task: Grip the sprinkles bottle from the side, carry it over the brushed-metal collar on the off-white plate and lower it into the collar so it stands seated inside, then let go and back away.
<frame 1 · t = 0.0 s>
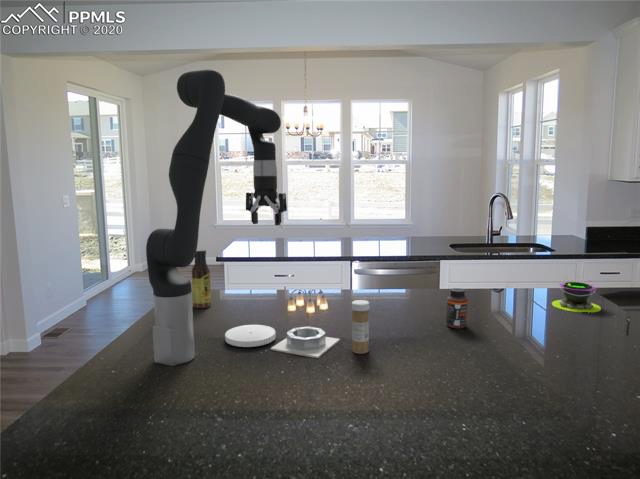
hand: (266, 224, 163), 29 cm above the worktop, tool pointing down, fingers open, 8 cm apart
plastic lid: (250, 342, 140), on the worktop
sauce bottle: (202, 307, 173), on the worktop
sprinkles bottle: (360, 352, 131), on the worktop
supplement bottle: (456, 326, 150), on the worktop
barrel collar: (306, 338, 135), on the base plate, point 1 cm above the worktop
toy cauldron: (575, 307, 170), on the worktop
base plate: (306, 345, 135), on the worktop
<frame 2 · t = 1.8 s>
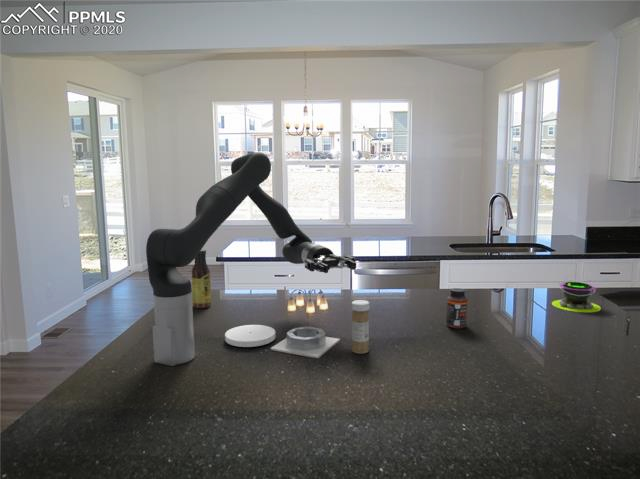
hand: (341, 267, 138), 20 cm above the worktop, tool horizontal, fingers open, 8 cm apart
nothing on the worktop moved.
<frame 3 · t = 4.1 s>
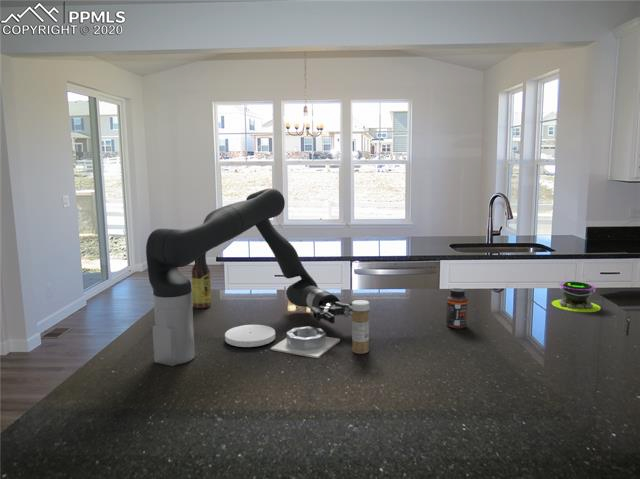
hand: (347, 317, 136), 7 cm above the worktop, tool horizontal, fingers open, 8 cm apart
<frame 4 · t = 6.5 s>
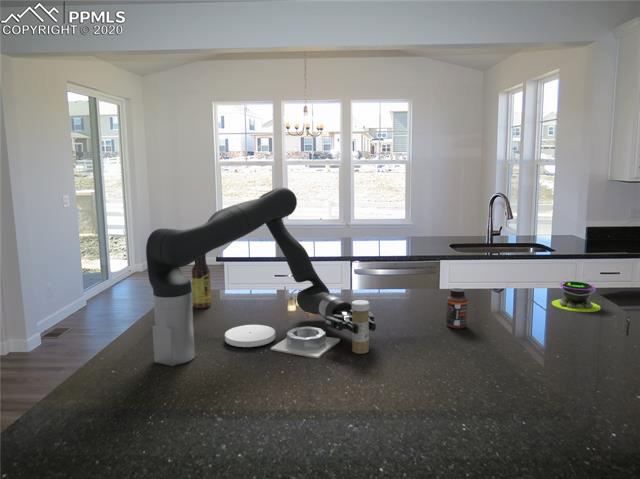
hand: (365, 328, 127), 7 cm above the worktop, tool horizontal, fingers closed on sprinkles bottle, 4 cm apart
sprinkles bottle: (360, 351, 131), on the worktop, touching gripper
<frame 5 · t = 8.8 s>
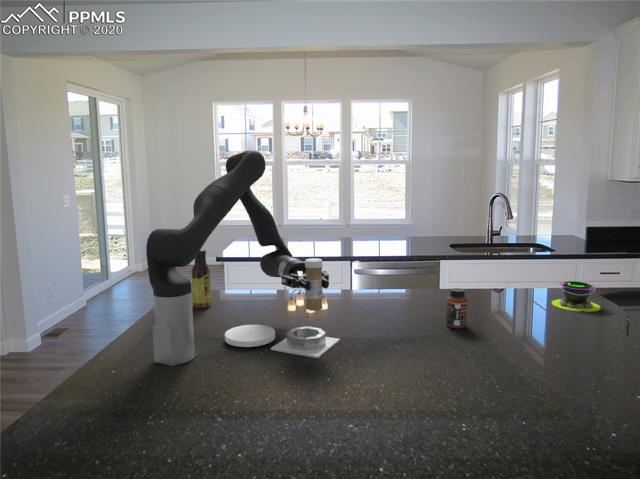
hand: (318, 285, 129), 18 cm above the worktop, tool horizontal, fingers closed on sprinkles bottle, 4 cm apart
sprinkles bottle: (314, 309, 133), point 10 cm above the worktop, touching gripper
when the fingers open (9 cm above the worktop, at t = 11.5 s): sprinkles bottle drops 2 cm, resting on base plate.
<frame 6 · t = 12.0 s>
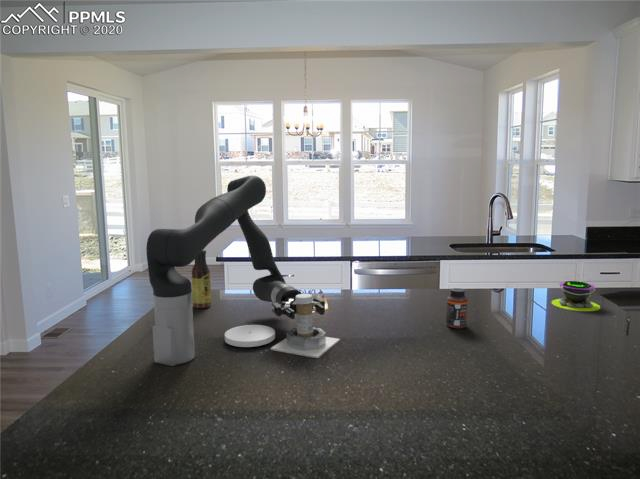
hand: (308, 313, 132), 10 cm above the worktop, tool horizontal, fingers open, 8 cm apart
sprinkles bottle: (305, 343, 135), resting on base plate
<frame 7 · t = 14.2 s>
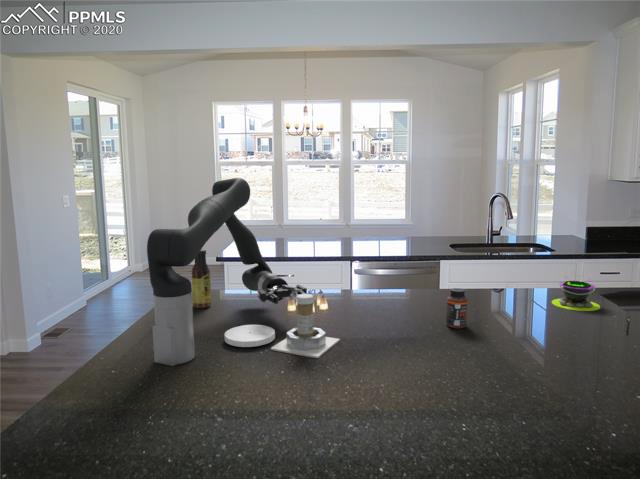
hand: (290, 298, 144), 10 cm above the worktop, tool horizontal, fingers open, 8 cm apart
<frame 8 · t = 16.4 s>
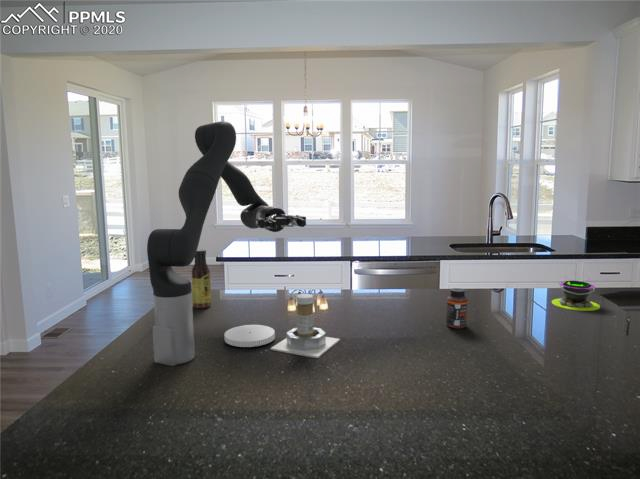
hand: (289, 224, 141), 32 cm above the worktop, tool horizontal, fingers open, 8 cm apart
at the end: sprinkles bottle 0.2 cm off-centre on the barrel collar, point 0.3 cm above the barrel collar's base; sprinkles bottle tilted 0°; the gripper is holding nothing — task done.
